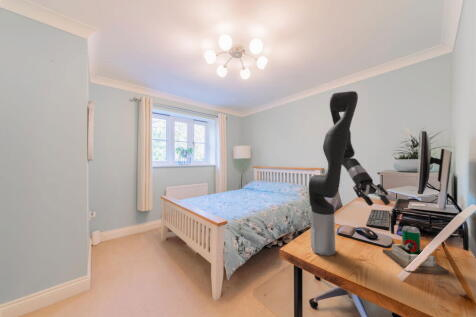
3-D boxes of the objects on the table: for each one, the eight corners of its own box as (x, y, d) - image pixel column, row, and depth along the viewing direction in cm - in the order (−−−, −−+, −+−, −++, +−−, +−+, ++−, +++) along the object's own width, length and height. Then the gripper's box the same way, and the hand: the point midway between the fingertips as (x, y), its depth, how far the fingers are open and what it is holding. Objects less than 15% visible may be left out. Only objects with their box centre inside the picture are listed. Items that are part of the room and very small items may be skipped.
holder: (406, 271, 63) (406, 258, 63) (382, 252, 76) (382, 241, 76) (449, 274, 61) (449, 260, 61) (417, 254, 74) (417, 242, 74)
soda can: (424, 263, 66) (423, 230, 66) (408, 261, 67) (408, 230, 67) (414, 255, 71) (413, 225, 71) (399, 254, 72) (398, 225, 72)
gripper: (351, 171, 87) (371, 200, 76) (376, 171, 89) (399, 199, 78) (343, 180, 92) (360, 209, 81) (367, 180, 94) (387, 208, 83)
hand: (379, 204), depth 80 cm, fingers open, 8 cm apart
